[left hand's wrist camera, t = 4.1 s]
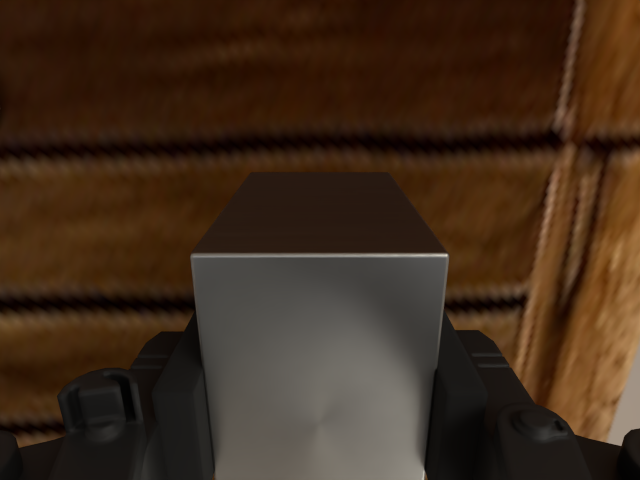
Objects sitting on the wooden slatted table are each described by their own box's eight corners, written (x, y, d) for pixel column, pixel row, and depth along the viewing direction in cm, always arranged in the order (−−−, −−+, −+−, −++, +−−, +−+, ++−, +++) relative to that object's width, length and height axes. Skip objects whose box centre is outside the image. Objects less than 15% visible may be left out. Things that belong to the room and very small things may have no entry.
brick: (379, 363, 17) (417, 550, 10) (260, 363, 17) (221, 550, 10) (389, 172, 15) (451, 253, 8) (249, 171, 15) (188, 253, 8)
